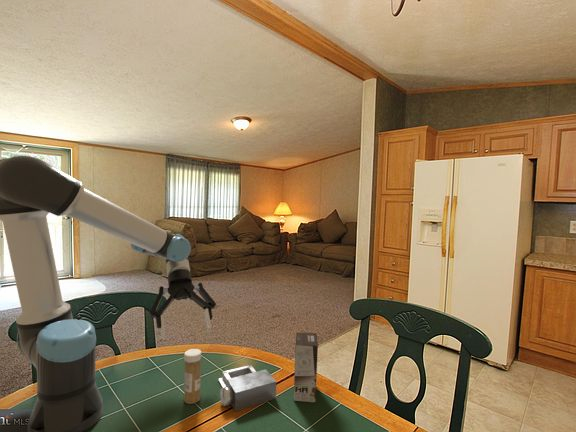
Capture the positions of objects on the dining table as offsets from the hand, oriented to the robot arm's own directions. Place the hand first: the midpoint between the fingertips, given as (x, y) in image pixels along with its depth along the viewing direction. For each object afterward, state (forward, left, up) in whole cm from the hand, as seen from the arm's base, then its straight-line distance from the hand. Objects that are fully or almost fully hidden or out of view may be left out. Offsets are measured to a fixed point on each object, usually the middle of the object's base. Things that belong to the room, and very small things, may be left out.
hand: (187, 333), depth 95 cm
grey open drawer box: (+13, -12, -14) cm, 23 cm away
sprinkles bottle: (0, -10, -15) cm, 18 cm away
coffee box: (+30, -21, -15) cm, 39 cm away
